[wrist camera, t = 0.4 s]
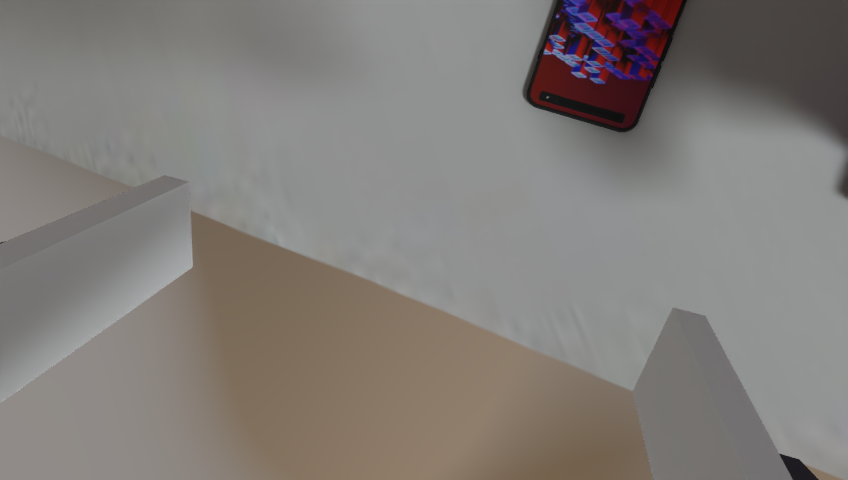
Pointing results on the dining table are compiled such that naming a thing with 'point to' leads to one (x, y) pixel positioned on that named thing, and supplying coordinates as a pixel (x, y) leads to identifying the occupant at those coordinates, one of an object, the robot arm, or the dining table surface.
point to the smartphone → (603, 59)
